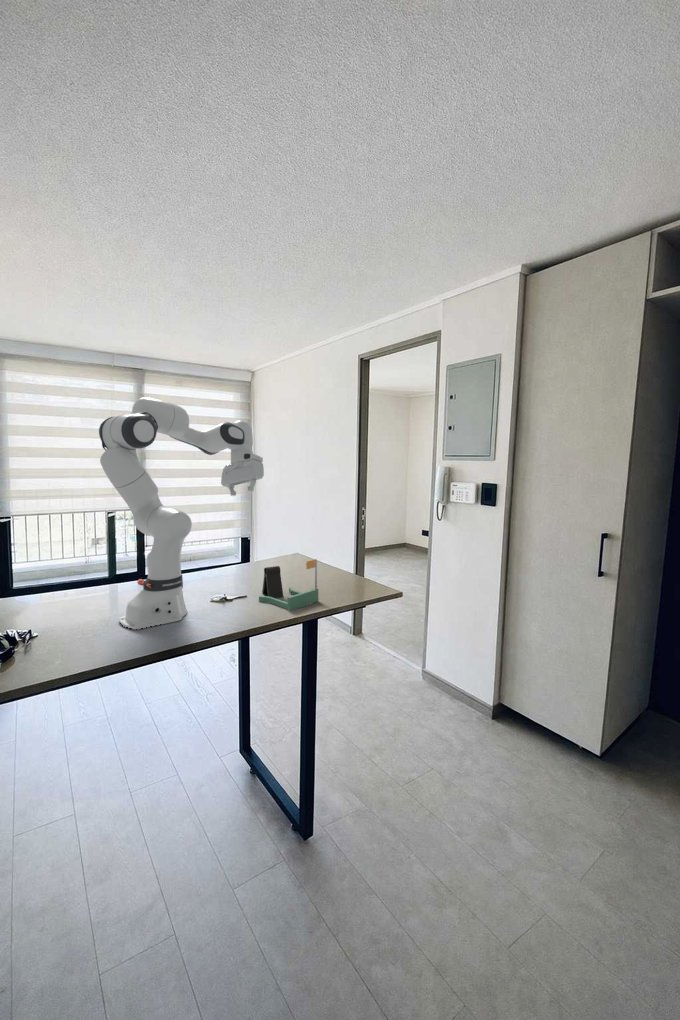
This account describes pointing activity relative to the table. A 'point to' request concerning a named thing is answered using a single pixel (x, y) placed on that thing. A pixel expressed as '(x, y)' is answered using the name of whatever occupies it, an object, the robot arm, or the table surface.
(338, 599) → the table surface
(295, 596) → the putting pocket
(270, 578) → the door stopper
